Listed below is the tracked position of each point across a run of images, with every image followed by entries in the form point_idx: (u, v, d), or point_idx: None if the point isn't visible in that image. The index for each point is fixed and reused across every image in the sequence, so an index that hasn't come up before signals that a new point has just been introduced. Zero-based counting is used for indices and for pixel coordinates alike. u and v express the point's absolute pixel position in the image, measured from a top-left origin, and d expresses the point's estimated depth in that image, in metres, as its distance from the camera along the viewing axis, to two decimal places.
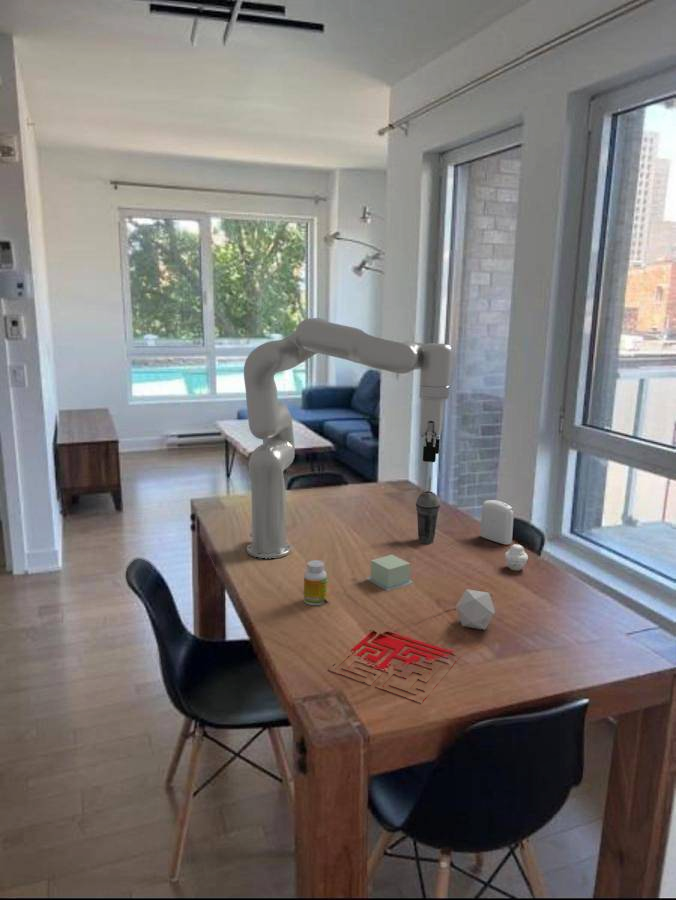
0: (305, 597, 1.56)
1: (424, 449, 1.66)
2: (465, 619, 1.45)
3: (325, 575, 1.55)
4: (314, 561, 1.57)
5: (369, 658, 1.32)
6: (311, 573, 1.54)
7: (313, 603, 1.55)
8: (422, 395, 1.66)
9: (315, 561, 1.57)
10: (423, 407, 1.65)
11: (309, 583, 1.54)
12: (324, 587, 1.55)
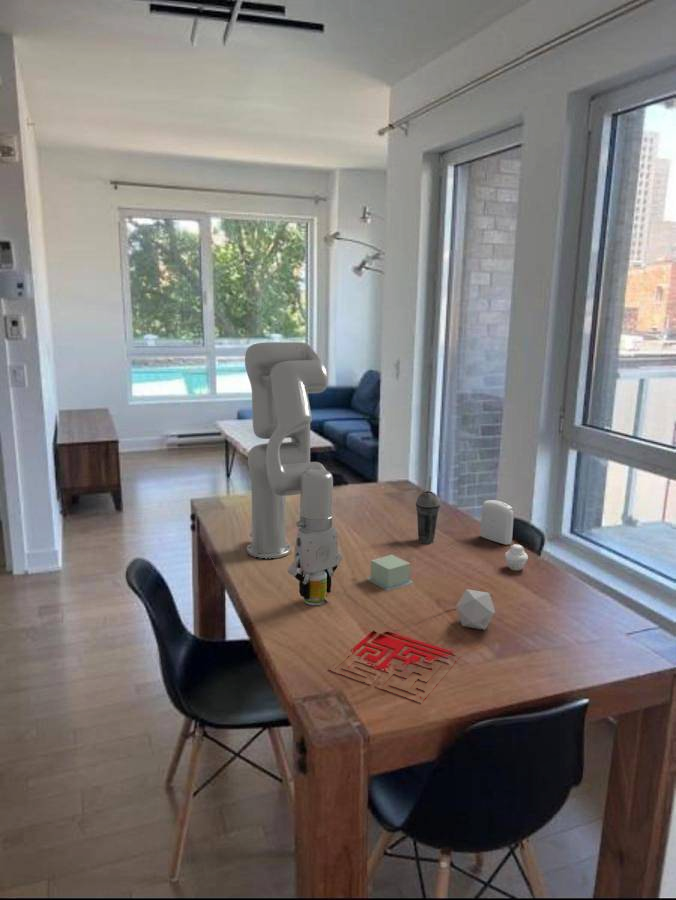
0: None
1: None
2: (465, 619, 1.45)
3: (325, 575, 1.55)
4: None
5: (369, 658, 1.32)
6: (311, 573, 1.54)
7: (313, 603, 1.55)
8: (331, 526, 1.53)
9: None
10: (336, 535, 1.55)
11: (309, 583, 1.54)
12: (324, 587, 1.55)
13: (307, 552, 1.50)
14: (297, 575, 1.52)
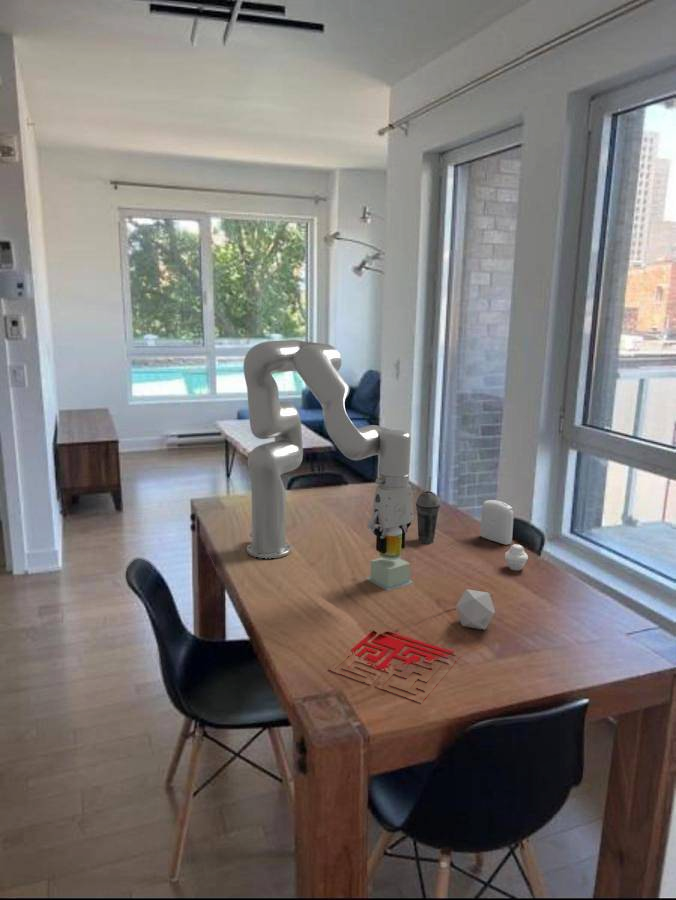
0: None
1: None
2: (465, 619, 1.45)
3: (401, 531, 1.63)
4: None
5: (369, 658, 1.32)
6: (388, 529, 1.63)
7: (389, 557, 1.63)
8: (408, 483, 1.61)
9: None
10: (411, 492, 1.63)
11: (386, 538, 1.62)
12: (400, 542, 1.64)
13: (386, 507, 1.58)
14: (375, 530, 1.60)
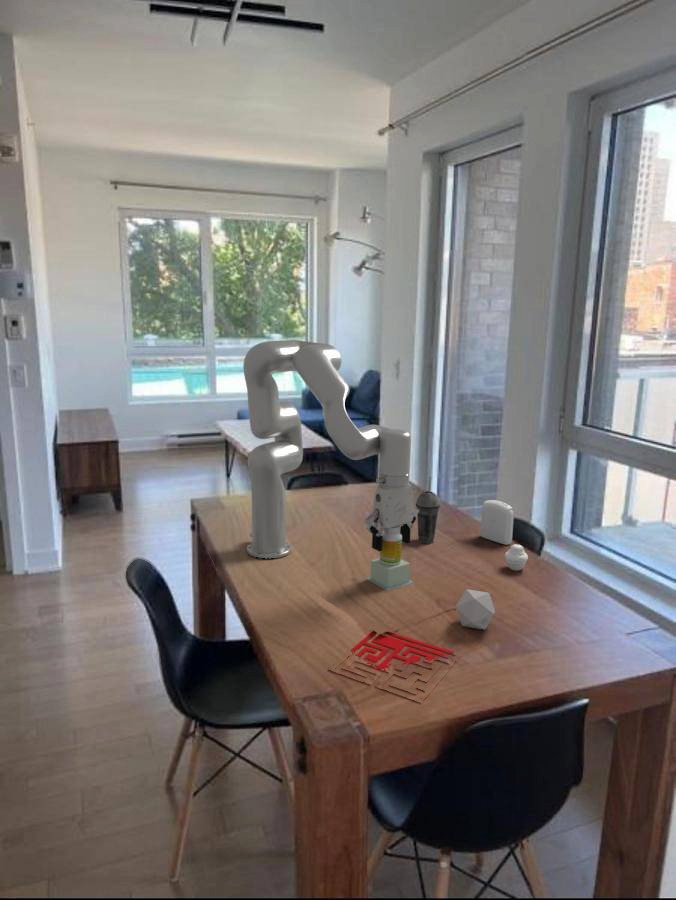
0: (381, 557, 1.65)
1: None
2: (465, 619, 1.45)
3: (401, 536, 1.64)
4: None
5: (369, 658, 1.32)
6: (388, 534, 1.63)
7: (389, 563, 1.64)
8: (408, 483, 1.61)
9: None
10: (412, 492, 1.63)
11: (386, 544, 1.63)
12: (400, 548, 1.64)
13: (386, 507, 1.58)
14: (371, 527, 1.59)
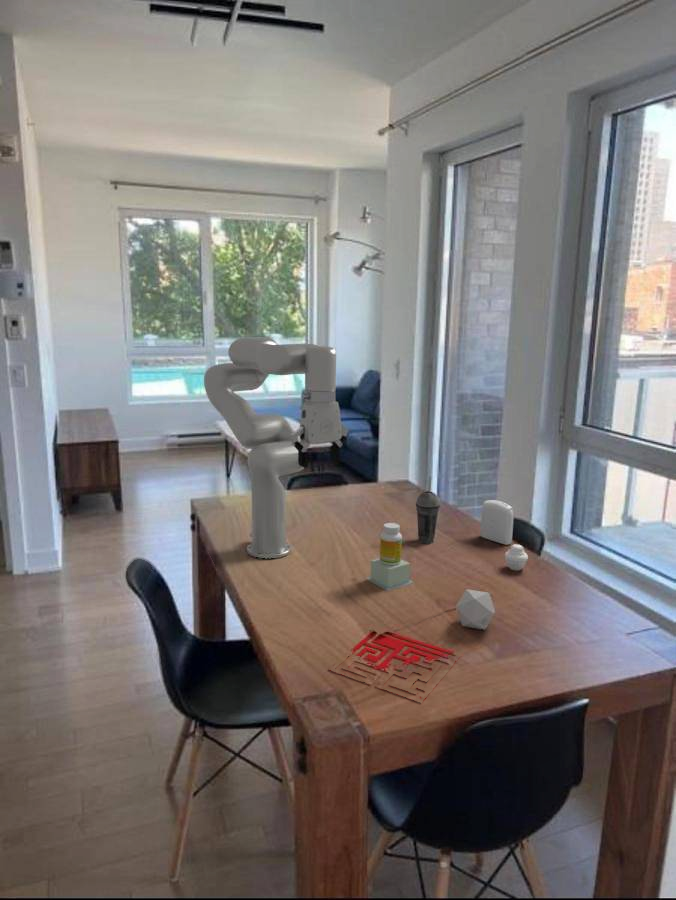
0: (381, 557, 1.65)
1: None
2: (465, 619, 1.45)
3: (401, 536, 1.64)
4: (390, 523, 1.65)
5: (369, 658, 1.32)
6: (388, 534, 1.63)
7: (389, 563, 1.64)
8: (334, 400, 1.61)
9: (391, 524, 1.65)
10: (339, 410, 1.64)
11: (385, 544, 1.63)
12: (400, 548, 1.64)
13: (311, 422, 1.59)
14: (296, 443, 1.59)
